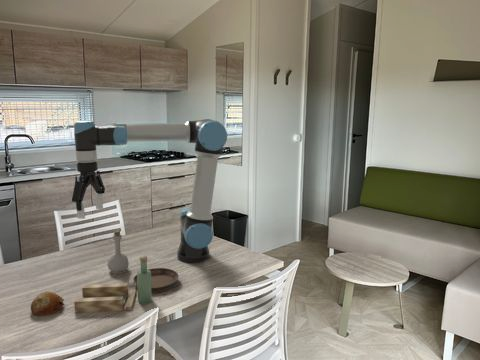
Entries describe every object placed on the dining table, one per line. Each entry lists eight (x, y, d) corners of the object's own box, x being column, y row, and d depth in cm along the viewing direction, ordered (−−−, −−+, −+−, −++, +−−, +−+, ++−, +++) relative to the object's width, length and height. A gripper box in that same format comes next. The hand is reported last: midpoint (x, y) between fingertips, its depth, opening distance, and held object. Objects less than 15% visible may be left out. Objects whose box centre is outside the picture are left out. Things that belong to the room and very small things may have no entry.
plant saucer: (157, 298, 152) (157, 291, 152) (124, 286, 161) (123, 279, 161) (187, 281, 167) (187, 274, 166) (155, 271, 176) (155, 264, 175)
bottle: (152, 296, 153) (151, 254, 149) (151, 303, 148) (149, 259, 145) (138, 297, 152) (137, 254, 149) (137, 304, 147) (135, 260, 144)
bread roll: (44, 311, 148) (33, 293, 147) (70, 299, 148) (59, 281, 147) (33, 326, 139) (21, 307, 137) (61, 313, 139) (48, 294, 137)
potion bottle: (123, 275, 171) (121, 234, 167) (104, 273, 172) (101, 232, 169) (133, 267, 179) (131, 228, 175) (114, 265, 181) (112, 226, 177)
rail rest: (136, 292, 156) (135, 282, 155) (131, 309, 143) (130, 299, 142) (84, 294, 154) (83, 284, 153) (75, 312, 141) (74, 301, 140)
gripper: (95, 156, 172) (98, 205, 176) (58, 165, 148) (63, 222, 152) (111, 156, 171) (114, 205, 175) (77, 166, 147) (81, 223, 151)
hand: (90, 213), depth 164 cm, fingers open, 13 cm apart
